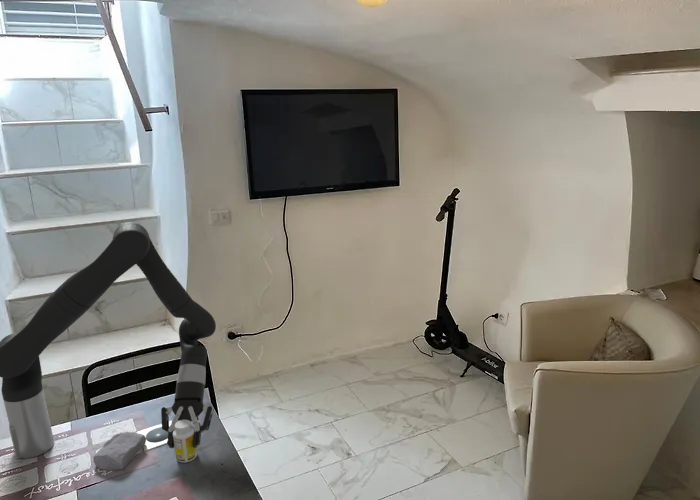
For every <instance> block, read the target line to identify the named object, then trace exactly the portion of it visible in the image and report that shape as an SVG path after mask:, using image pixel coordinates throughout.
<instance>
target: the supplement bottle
mask: <svg viewBox="0 0 700 500" xmlns="http://www.w3.org/2000/svg"><path fill="white" fill-rule="evenodd" d="M194 432H195V427H194V425H192V424H191V422H190V421H189V420H180V421H178V422H177V423H176V424H175V430H174V431H173V441H174V453H175V459H176V460H177V462H180V463H183V464H184V463H190V462H191V461H193V460H195V458H197V456H198V447H197V448H194V447H193V439H194Z"/></svg>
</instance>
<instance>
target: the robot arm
mask: <svg viewBox="0 0 700 500" xmlns="http://www.w3.org/2000/svg"><path fill="white" fill-rule="evenodd" d="M135 265H137V267H138V269H139V270H140V271H141V272H142V273H143V275H144V277H146V279H147V281H148V283H149V285H150V286H151V288H152V290H153V291H154V293H155V294H156V297H157V298H158V299H159V300H160V303H162V304H163V306H164V307H165V308H166V310H167V311H168V312H169V313H170V314H171V316H172V317H174V318H178V319H182V320H181V322H180V324H179V328H178V336H179V344H180V345H179V346H180V351H181V356H180V361H179V369H178V373H177V377H176V378H177V379H176V387H175V394H174V402H173V404H172V405H171V406H169V407H165V406H162V408H161V409H160V414H161V415H160V416H161V424H162V429H163V430H165V431H167V432H168V440H167V444H166V445H167V446H168V448H169V449H175V447H174V441H173V431H174V430H175V424H176V423H177V422H178V421H180V420H189V421H190V423H191V422H192V424H193V427H194V430H195V432H194V439H193V447H194V448H197V449H198V447H199V446H201V445H200V444H201V437H202V433H203V432H205V431H208V430H210V425H211V421H212V419H213V415H214V411H215V409H214V407H213V406H211V405H209V406H207V405H206V406H205V405H204V395H205V387H206V376H207V374H206V373H207V371H206V367H207V359H208V352H207V349H206V347H204V346H203V345H199V344H198V340H201V339H205V338H209V337H211V336H213V334H214V333H215V332H216V327H217V326H216V321H215V319H214V317H213V315H212V314H211V313H210V312H209V311H208V310H207V309H205V308H204V307H203V306H201V304H199V303H198V302H196V301H195V300H193V299H192V297H191V296H190V294H189V293H188V292H187V290H186V289H185V288H184V286H183V285H182V284H181V282H180V281H179V280H178V279H177V278H176V276H175V275H174V274H173V273H172V271H171V270H170V269H169V268H168V266H167V265H166V263H165V262H164V260H163V259H162V257H161V256H160V254H159V253H158V251H157V249H156V248H155V246H154V244H153V241H152V239H151V237H150V234H149V232H148V231H147V229H146V228H145V227H144V226H143V225H141V224H139V223H137V222H134V221H129V222H128V221H127V222H123V223H122V224H121V223H120V224H119V225H118V226H117V228H116V229H115V231H114V232H113V235H112V240H111V241H110V243H109V244H108V245H107V246H106V248H104V249H103V251H102V252H101V253H100V254H99V255H98V257H96V258H95V260H93V261H92V262H90V264H89V265H87V266H85V267H83V268H82V269H80V270H78V271H77V272H75V273H74V274H73V275H70V277H68V278H67V279H66V280H65V281H63V282H62V283H61V284H60V285H59V286H58V287H57V288H56V289H55V290H54V291H53V292H52V293H51V294H50V296H48V297H47V299H46V300H45V301H44V302H43V304H42V305H41V306H39V309H38V310H37V311H36V312H35V314H34V316H32V318H31V319H30V320H29V322H28V323H27V324H26V325H25V326H24V327H23V328H22V329H21V330H20V331H19V332H15V333H10V334H8V335H6V336H5V337H3V338H2V339H1V340H0V378H2V381H1V382H2V383H1V389H0V390H1V396H2V399H3V403H4V404H3V405H4V407H5V412H6V417H7V421H8V426H9V433H10V437H11V441H12V446H13V449H14V454H15V458H16V460H19V459H29V458H34V457H37V456H41V455H42V454H45V453H47V452H48V451H49V450H50V449H51V448H52V447H53V446H54V444H55V439H54V434H53V429H52V425H51V424H52V423H51V420H50V416H49V412H48V411H49V410H48V408H47V402H46V401H47V400H46V397H45V392H44V386H43V382H42V381H43V380H42V379H43V374H42V373H43V372H42V371H43V370H42V366H41V365H42V364H41V361H40V360H41V359H40V355H41V354H42V353H43V352H44V350H46V348H47V347H48V346H49V345H50V344H51V343H53V341H55V339H57V338H58V337H60V336H61V334H63V333H64V332H65V331H67V330H68V328H70V327H71V326H72V325H73V324H74V323H76V322H77V321H78V320H79V319H80V318H81V317H82V316H83V315H85V313H87V311H88V310H89V309H91V308H92V307H93V305H94V304H95V303H97V301H98V300H99V299H100V298H101V297H102V296H103V295H104V294H105V293H106V292H107V291H108V290H109V289H110V287H111V286H112V285H113V284H114V283H115V281H117V280H118V279H119V278H120V277H121V276H123V275H124V274H125V273H126V272H128V271H129V270H130V269H131V268H133V267H134V266H135ZM172 412H173V414H174V417H173V419H172V424H171V425H170V427H169V421H170V420H169V418H170V417H169V416H171V414H172ZM202 413H203V414H204V415H205V416H204V419H203V422H202V425H201V421H200V418H199V416H200V415H201V414H202Z"/></svg>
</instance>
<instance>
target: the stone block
mask: <svg viewBox="0 0 700 500" xmlns="http://www.w3.org/2000/svg"><path fill="white" fill-rule="evenodd" d="M145 443H146V437H145V435H143V434H139V433H137V432H131V431H124V432H120V433H117V434H114V435H113V436H112V437H111V438H110V439H109V440H107V441H106V442H105V443H104V444H103V446H102V447H101V448H99V450H98V451H97V452H96V453H95V454H94V455H93V459H92V460H93V463H94V466H95V467H96V468H98V469H101V470H105V471H106V470H111V471H112V470H114V471H115V470H116V471H117V470H118V471H123V470H124V469H125V468H126V467H127V466H128V465H129V463H130V462H131V461H133V459H134V458H135V457H136V456H137V455H138V453H139V452H140V451H141V450H142V449H143V446H144V445H145Z"/></svg>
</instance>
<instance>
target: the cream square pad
mask: <svg viewBox="0 0 700 500" xmlns="http://www.w3.org/2000/svg"><path fill="white" fill-rule="evenodd" d="M172 420H173V419H172ZM172 420H169V427H170V425H171V424H172ZM136 433H139V434H143V435H145V437H146V443H145V445H144V446H143V448H142V449H143V450H144V452H147V451H149V450H153V449H155V448H158V447H161V446H165V445H167V440H168V432H167V431H165V430H163V429H162V423H160V424H157V425H154V426H150V427H148V428H144V429H142V430H138V431H136Z"/></svg>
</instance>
